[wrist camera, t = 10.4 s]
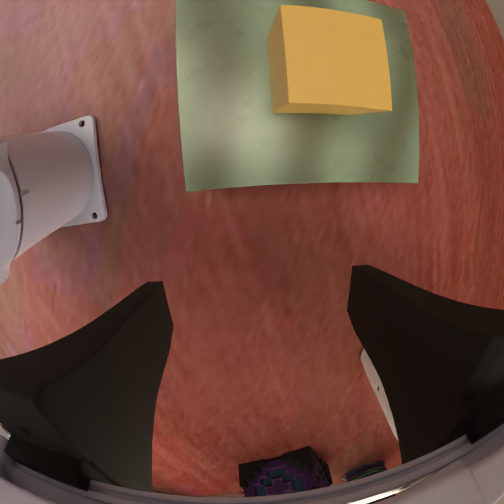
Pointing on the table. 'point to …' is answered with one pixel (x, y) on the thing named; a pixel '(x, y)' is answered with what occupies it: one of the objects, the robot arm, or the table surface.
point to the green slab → (282, 124)
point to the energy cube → (285, 474)
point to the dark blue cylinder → (367, 474)
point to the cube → (327, 62)
